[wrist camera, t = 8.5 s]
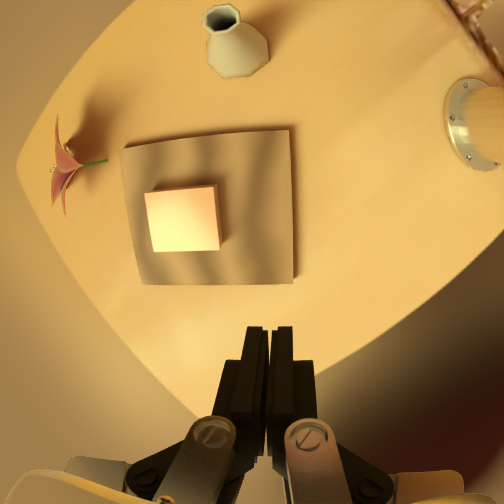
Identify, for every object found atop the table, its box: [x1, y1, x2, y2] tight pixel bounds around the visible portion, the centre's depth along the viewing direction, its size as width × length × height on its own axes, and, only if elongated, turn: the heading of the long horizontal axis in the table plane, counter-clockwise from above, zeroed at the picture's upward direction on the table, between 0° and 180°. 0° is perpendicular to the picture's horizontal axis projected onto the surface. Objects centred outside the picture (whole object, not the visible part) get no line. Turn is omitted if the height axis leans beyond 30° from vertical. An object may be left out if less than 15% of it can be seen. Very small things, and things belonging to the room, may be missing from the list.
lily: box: [50, 115, 108, 217], centre depth 29 cm, size 12×12×10 cm
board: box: [119, 130, 293, 285], centre depth 33 cm, size 20×18×1 cm
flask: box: [203, 4, 269, 79], centre depth 22 cm, size 7×7×10 cm
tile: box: [144, 184, 223, 252], centre depth 32 cm, size 2×7×8 cm
